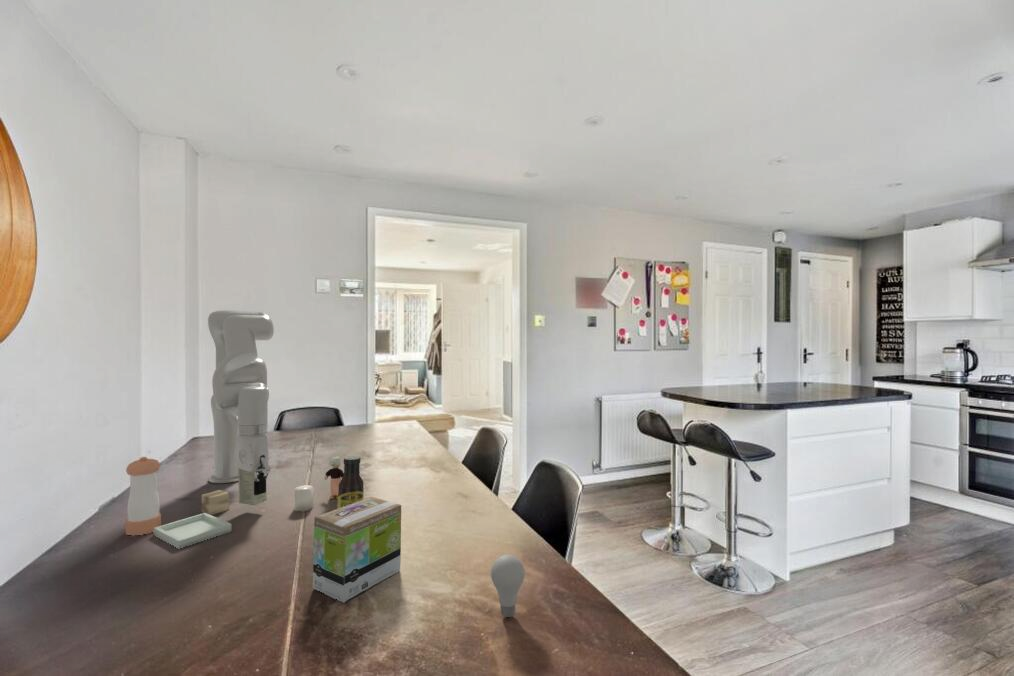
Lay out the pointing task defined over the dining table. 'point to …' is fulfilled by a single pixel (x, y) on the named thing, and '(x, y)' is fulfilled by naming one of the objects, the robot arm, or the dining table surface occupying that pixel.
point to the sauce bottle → (350, 483)
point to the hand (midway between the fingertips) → (252, 490)
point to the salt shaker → (143, 497)
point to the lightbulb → (507, 581)
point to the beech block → (215, 502)
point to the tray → (192, 530)
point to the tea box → (356, 547)
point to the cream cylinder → (303, 498)
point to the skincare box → (249, 488)
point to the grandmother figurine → (334, 476)
